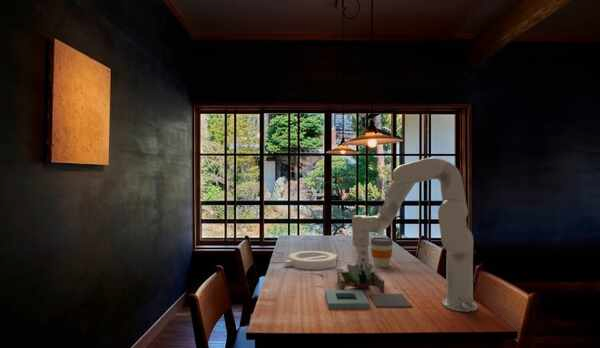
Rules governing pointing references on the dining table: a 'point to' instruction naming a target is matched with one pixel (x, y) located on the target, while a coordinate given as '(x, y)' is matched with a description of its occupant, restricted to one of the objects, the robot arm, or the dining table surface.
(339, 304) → the hole plate
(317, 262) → the ring with crossbar
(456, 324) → the dining table surface
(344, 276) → the walnut cubby
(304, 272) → the dining table surface
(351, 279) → the food container
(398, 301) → the charcoal mat
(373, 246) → the reusable coffee cup
